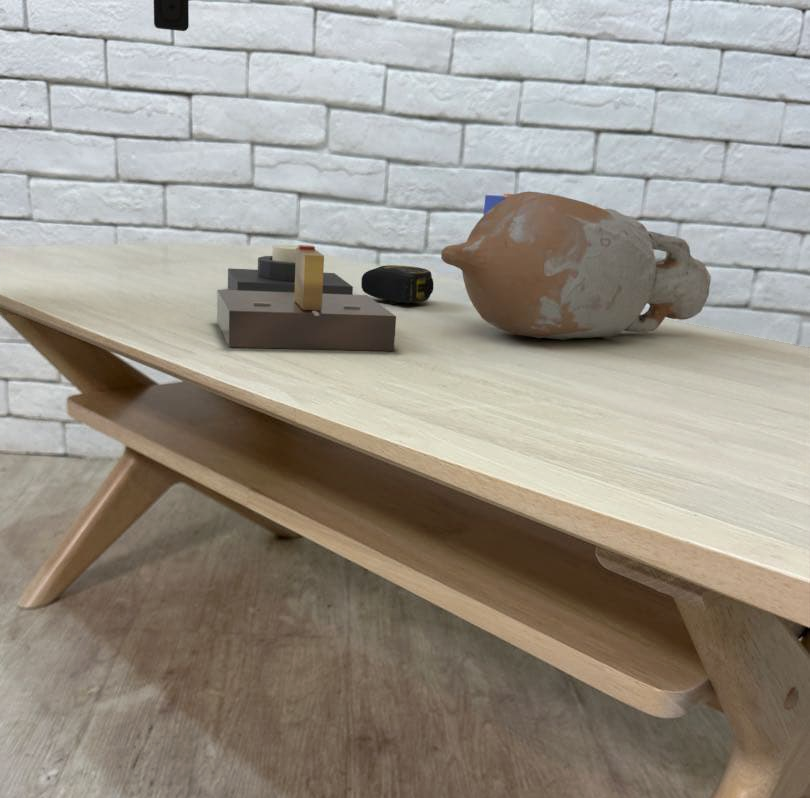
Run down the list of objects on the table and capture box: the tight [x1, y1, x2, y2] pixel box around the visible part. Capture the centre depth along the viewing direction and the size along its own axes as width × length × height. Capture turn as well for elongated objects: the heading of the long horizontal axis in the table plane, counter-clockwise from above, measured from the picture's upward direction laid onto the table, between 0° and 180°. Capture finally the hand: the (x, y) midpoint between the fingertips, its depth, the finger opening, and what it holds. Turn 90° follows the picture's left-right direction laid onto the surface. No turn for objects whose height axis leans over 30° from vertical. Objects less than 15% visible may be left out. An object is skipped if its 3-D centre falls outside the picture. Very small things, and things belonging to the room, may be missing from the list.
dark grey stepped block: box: [227, 255, 354, 295], centre depth 107 cm, size 12×10×4 cm
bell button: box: [271, 244, 298, 263], centre depth 106 cm, size 4×4×2 cm
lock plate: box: [216, 289, 397, 352], centre depth 87 cm, size 14×12×3 cm
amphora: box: [440, 191, 712, 341], centre depth 96 cm, size 14×16×30 cm
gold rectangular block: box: [294, 244, 325, 311], centre depth 84 cm, size 5×2×5 cm, turn 14°
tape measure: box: [360, 264, 434, 305], centre depth 110 cm, size 7×7×4 cm
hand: (171, 28), depth 97 cm, fingers closed
